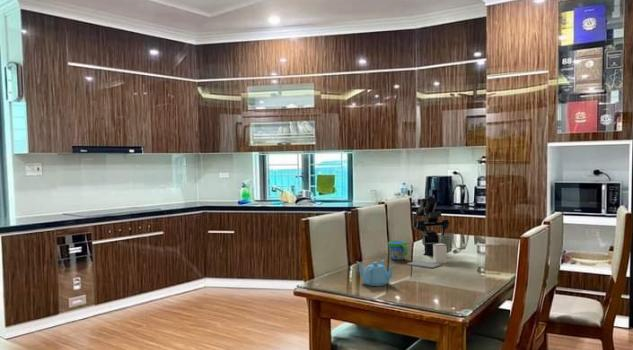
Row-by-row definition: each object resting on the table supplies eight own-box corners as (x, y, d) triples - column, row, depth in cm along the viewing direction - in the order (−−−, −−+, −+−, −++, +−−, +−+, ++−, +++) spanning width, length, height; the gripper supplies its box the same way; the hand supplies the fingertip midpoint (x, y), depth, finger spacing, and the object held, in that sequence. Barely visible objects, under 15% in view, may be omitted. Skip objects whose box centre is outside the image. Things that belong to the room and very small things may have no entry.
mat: (406, 264, 255) (406, 263, 255) (416, 261, 262) (416, 260, 262) (432, 268, 244) (432, 267, 244) (442, 265, 251) (441, 263, 251)
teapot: (365, 289, 209) (365, 266, 209) (356, 281, 224) (355, 260, 224) (396, 286, 212) (395, 264, 212) (384, 278, 227) (383, 257, 227)
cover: (433, 261, 263) (432, 243, 262) (443, 260, 263) (443, 243, 262) (436, 263, 257) (435, 245, 256) (447, 262, 257) (446, 245, 256)
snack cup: (412, 260, 266) (412, 243, 266) (397, 262, 262) (396, 244, 262) (398, 256, 281) (397, 239, 280) (383, 258, 277) (382, 241, 276)
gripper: (416, 207, 272) (421, 228, 261) (448, 205, 272) (454, 226, 261) (414, 218, 280) (419, 239, 269) (444, 217, 280) (450, 238, 269)
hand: (435, 236), depth 267 cm, fingers open, 9 cm apart
